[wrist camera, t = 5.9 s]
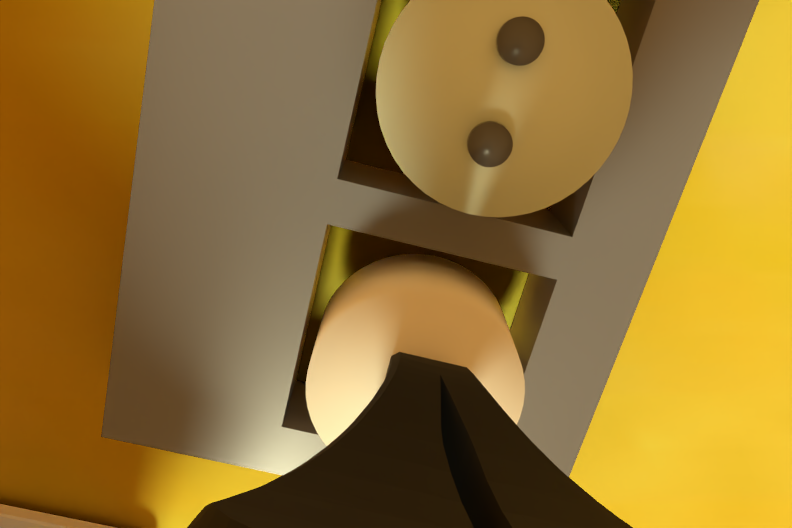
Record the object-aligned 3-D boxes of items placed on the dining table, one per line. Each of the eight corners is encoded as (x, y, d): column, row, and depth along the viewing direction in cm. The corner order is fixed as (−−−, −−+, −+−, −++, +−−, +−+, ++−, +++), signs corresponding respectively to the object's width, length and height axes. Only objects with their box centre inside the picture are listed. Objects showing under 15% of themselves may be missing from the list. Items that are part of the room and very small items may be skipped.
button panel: (530, 476, 17) (546, 531, 15) (136, 389, 16) (101, 436, 14) (862, -403, 11) (955, -492, 9) (273, -595, 10) (244, -734, 9)
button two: (555, 210, 13) (585, 245, 11) (358, 161, 13) (349, 186, 11) (626, -1, 12) (677, -8, 10) (410, -61, 12) (412, -82, 9)
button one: (477, 441, 15) (490, 511, 13) (302, 402, 15) (284, 467, 12) (532, 279, 14) (556, 326, 12) (341, 233, 13) (329, 272, 11)
